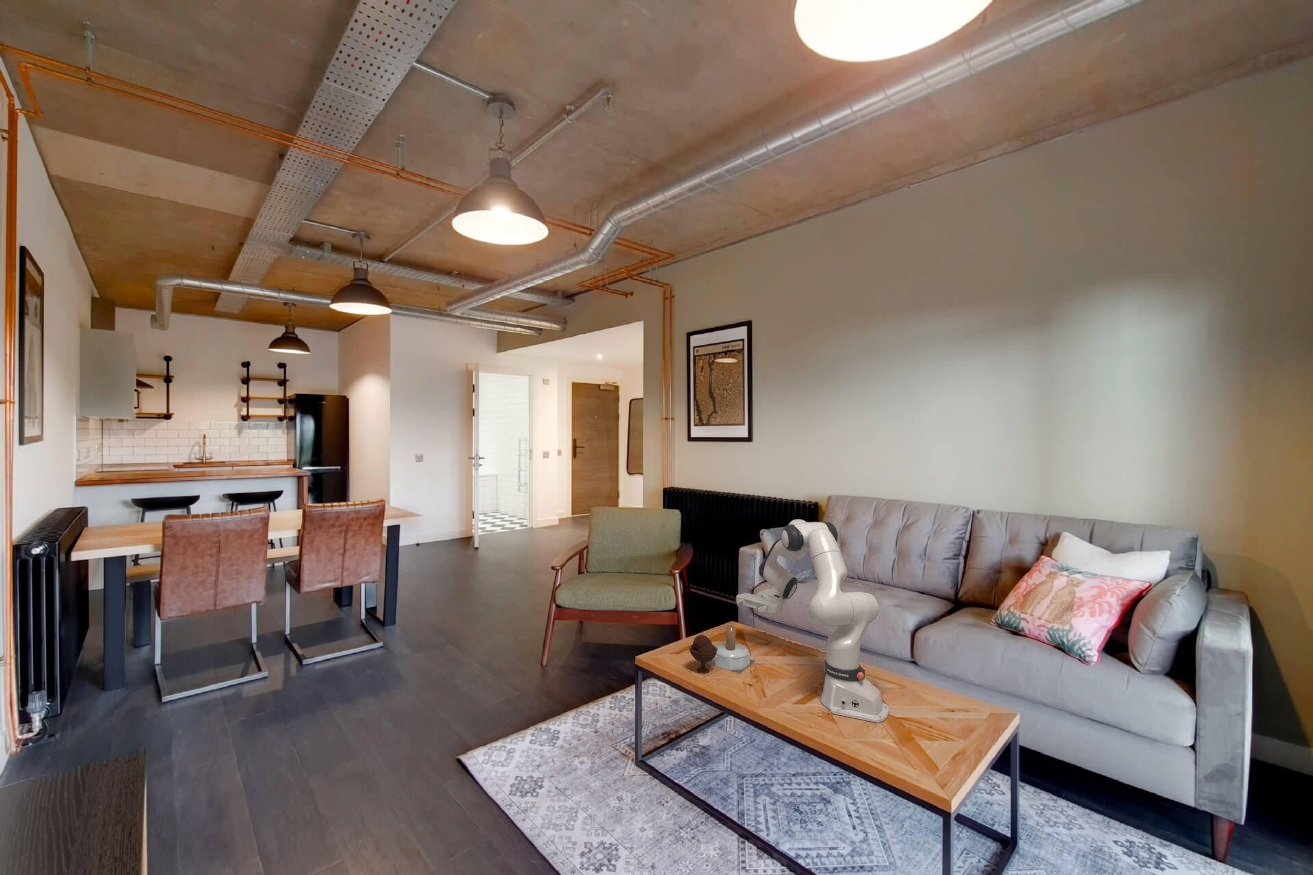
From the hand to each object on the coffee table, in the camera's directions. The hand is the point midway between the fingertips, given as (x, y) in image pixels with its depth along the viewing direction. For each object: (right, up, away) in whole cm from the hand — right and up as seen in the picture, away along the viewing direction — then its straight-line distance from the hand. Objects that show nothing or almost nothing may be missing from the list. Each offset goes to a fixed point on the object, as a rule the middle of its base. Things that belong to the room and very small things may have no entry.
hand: (748, 607), depth 239 cm
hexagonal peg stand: (-9, -20, -9) cm, 23 cm away
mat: (-9, -20, -9) cm, 24 cm away
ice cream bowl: (-21, -20, -18) cm, 34 cm away
